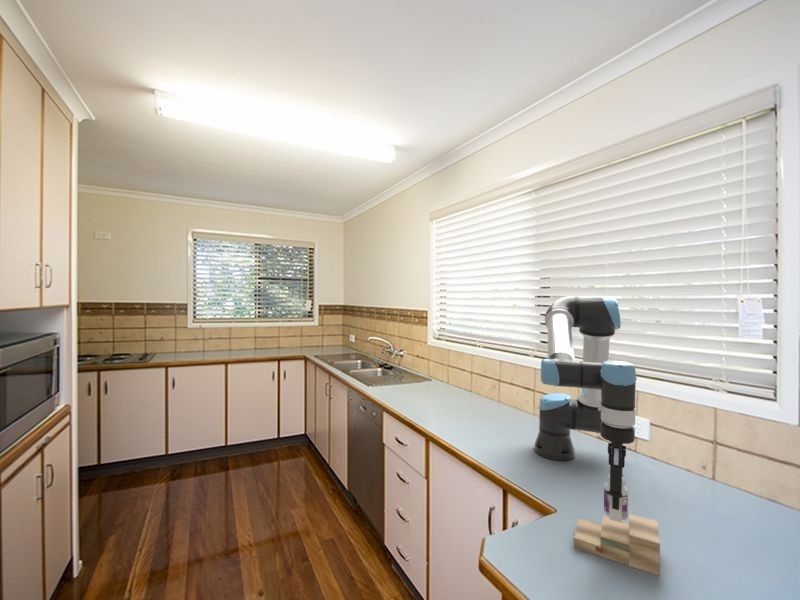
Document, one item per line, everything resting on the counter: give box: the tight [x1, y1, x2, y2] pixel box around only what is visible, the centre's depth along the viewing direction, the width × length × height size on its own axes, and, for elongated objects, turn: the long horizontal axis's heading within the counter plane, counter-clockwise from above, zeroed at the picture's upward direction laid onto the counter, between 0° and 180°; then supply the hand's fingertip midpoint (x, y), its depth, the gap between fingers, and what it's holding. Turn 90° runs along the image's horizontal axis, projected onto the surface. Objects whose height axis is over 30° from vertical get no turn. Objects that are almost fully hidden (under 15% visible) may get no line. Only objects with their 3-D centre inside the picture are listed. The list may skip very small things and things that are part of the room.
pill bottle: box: [603, 473, 629, 521], centre depth 95 cm, size 5×5×10 cm
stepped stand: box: [573, 513, 661, 577], centre depth 95 cm, size 10×18×8 cm, turn 58°
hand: (615, 513), depth 95 cm, fingers closed on pill bottle, 5 cm apart
